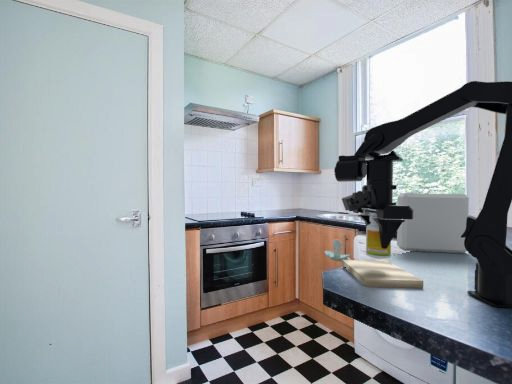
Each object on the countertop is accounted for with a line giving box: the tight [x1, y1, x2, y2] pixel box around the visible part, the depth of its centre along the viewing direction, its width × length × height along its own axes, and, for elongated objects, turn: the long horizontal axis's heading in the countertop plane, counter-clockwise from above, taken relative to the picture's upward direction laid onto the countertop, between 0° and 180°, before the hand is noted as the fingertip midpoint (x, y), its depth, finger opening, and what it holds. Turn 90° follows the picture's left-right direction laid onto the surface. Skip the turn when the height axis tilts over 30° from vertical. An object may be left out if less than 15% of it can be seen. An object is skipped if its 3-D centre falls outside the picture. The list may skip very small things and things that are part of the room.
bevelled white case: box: [396, 192, 470, 254], centre depth 93 cm, size 21×8×20 cm, turn 82°
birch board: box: [341, 259, 424, 289], centre depth 63 cm, size 16×12×2 cm
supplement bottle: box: [365, 215, 392, 260], centre depth 63 cm, size 5×5×10 cm
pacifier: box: [324, 239, 351, 262], centre depth 77 cm, size 7×6×6 cm
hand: (378, 245), depth 63 cm, fingers closed on supplement bottle, 5 cm apart
